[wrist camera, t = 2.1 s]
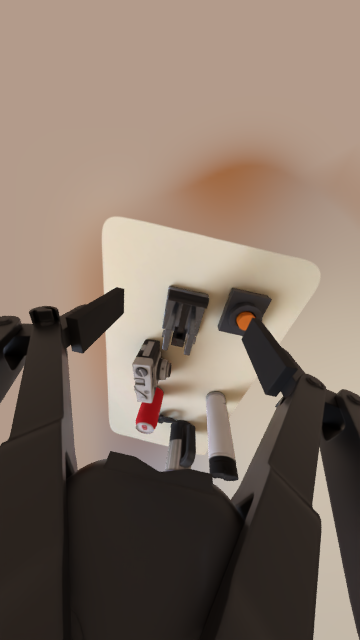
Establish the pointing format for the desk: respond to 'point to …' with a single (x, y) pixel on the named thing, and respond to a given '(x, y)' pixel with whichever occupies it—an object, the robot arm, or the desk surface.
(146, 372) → the camera
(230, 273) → the desk surface
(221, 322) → the control block
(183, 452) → the milk frother
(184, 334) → the switch lever
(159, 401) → the beverage can
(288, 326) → the desk surface
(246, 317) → the button
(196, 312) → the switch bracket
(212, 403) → the travel mug
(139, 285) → the desk surface
